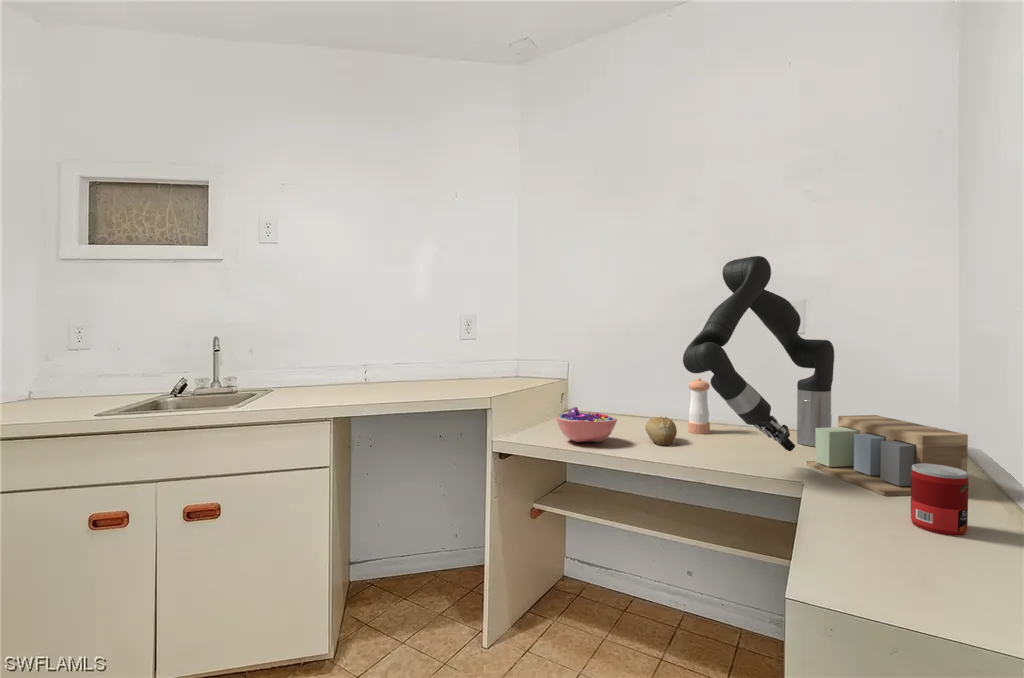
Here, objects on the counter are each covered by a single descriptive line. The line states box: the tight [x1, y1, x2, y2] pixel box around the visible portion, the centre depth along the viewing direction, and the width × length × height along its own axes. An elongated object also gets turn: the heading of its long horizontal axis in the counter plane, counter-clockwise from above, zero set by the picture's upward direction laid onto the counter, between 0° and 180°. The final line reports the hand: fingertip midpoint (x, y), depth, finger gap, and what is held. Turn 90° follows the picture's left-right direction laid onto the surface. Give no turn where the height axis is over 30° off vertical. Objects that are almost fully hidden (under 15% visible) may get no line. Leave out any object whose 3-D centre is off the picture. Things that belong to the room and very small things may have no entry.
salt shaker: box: [687, 377, 711, 435], centre depth 176 cm, size 7×7×19 cm
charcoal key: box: [880, 441, 916, 486], centre depth 114 cm, size 5×10×9 cm, turn 96°
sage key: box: [814, 426, 860, 467], centre depth 129 cm, size 5×10×9 cm, turn 96°
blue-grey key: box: [854, 434, 886, 475], centre depth 122 cm, size 5×10×9 cm, turn 95°
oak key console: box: [806, 414, 969, 497], centre depth 122 cm, size 25×20×13 cm
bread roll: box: [644, 416, 678, 446], centre depth 162 cm, size 10×15×8 cm, turn 175°
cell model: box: [555, 406, 618, 443], centre depth 161 cm, size 17×20×11 cm
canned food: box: [910, 463, 969, 537], centre depth 91 cm, size 8×8×11 cm
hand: (791, 448), depth 128 cm, fingers closed
